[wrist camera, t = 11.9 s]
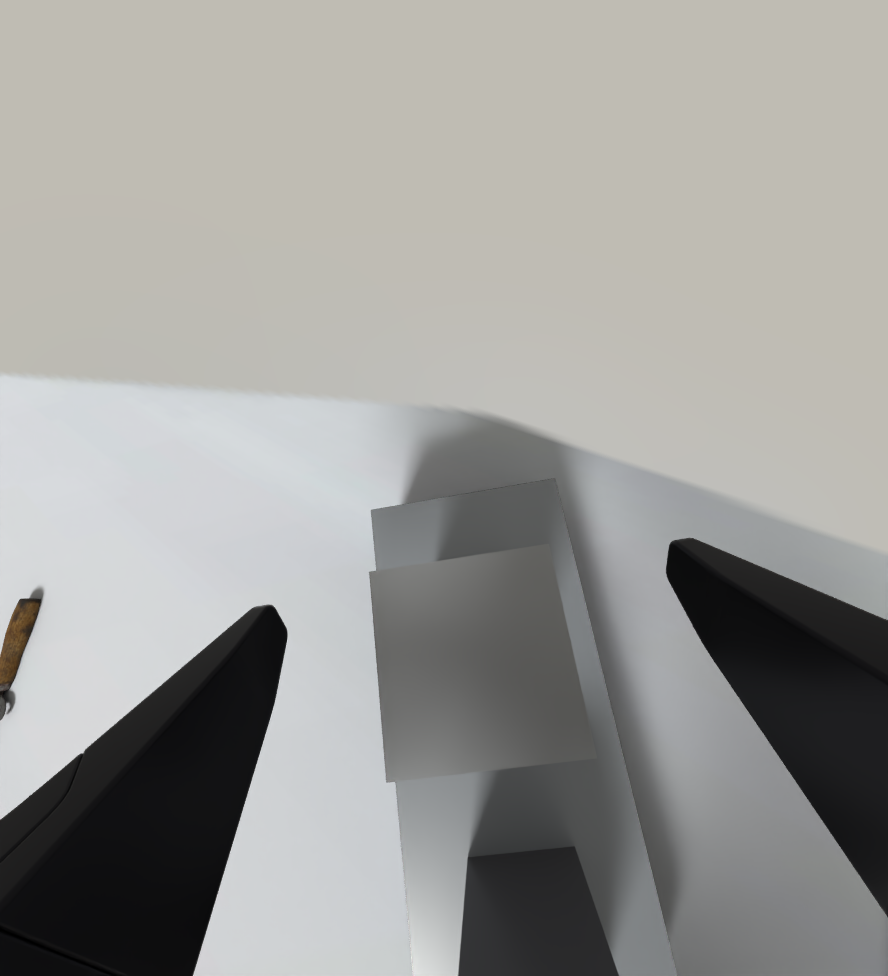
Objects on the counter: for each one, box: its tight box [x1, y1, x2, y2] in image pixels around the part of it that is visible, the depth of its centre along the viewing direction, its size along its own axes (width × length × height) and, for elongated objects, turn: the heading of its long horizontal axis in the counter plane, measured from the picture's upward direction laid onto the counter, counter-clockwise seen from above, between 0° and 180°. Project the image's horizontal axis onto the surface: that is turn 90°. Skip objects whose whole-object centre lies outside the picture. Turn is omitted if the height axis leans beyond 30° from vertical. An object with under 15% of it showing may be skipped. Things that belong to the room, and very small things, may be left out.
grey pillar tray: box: [371, 478, 677, 976], centre depth 15 cm, size 22×9×10 cm, turn 8°
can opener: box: [0, 599, 41, 720], centre depth 23 cm, size 9×2×1 cm, turn 170°
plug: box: [369, 544, 597, 783], centre depth 14 cm, size 4×4×13 cm
